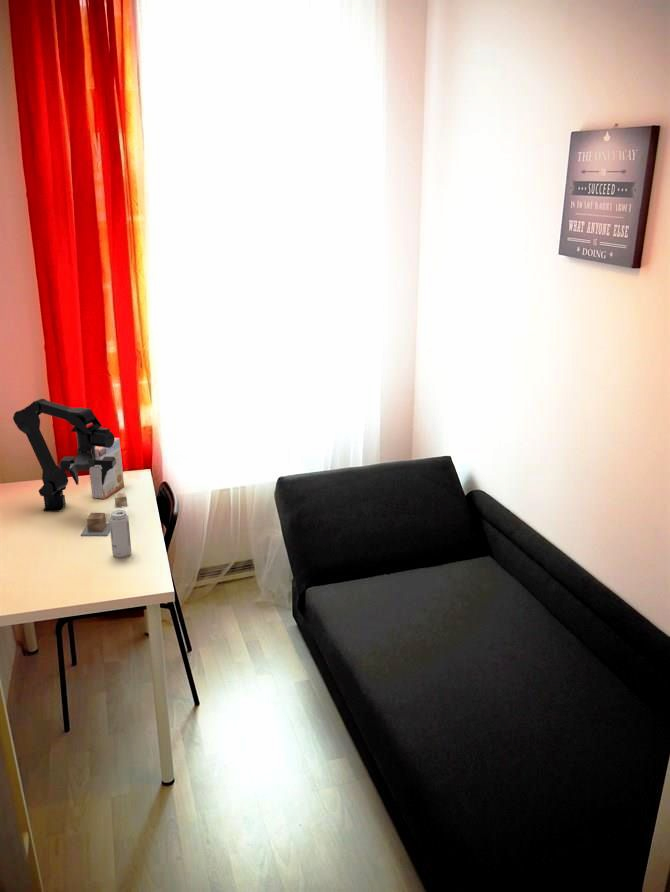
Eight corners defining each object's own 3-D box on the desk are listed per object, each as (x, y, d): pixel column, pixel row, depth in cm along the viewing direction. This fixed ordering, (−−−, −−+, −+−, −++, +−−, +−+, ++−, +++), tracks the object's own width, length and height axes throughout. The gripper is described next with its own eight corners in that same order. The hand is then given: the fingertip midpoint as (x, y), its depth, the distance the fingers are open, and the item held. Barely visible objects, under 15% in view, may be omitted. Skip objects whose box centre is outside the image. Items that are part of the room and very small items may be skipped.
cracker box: (111, 484, 302) (107, 435, 295) (124, 486, 301) (120, 437, 294) (91, 497, 290) (85, 447, 283) (104, 500, 288) (99, 449, 281)
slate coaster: (80, 536, 259) (80, 534, 259) (88, 524, 267) (88, 523, 267) (106, 536, 259) (106, 534, 259) (113, 524, 268) (113, 523, 267)
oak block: (116, 507, 282) (115, 498, 280) (115, 503, 285) (114, 494, 284) (127, 506, 283) (126, 496, 282) (126, 502, 287) (125, 492, 285)
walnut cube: (88, 531, 261) (86, 518, 259) (92, 525, 266) (90, 512, 264) (102, 531, 261) (101, 518, 259) (106, 525, 266) (105, 512, 264)
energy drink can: (111, 551, 248) (107, 510, 243) (130, 549, 250) (126, 508, 245) (113, 560, 243) (109, 518, 238) (132, 557, 245) (128, 515, 240)
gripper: (52, 451, 258) (57, 493, 263) (106, 452, 259) (110, 493, 264) (62, 441, 269) (67, 481, 274) (114, 441, 269) (118, 481, 275)
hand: (90, 484), depth 271 cm, fingers open, 9 cm apart
